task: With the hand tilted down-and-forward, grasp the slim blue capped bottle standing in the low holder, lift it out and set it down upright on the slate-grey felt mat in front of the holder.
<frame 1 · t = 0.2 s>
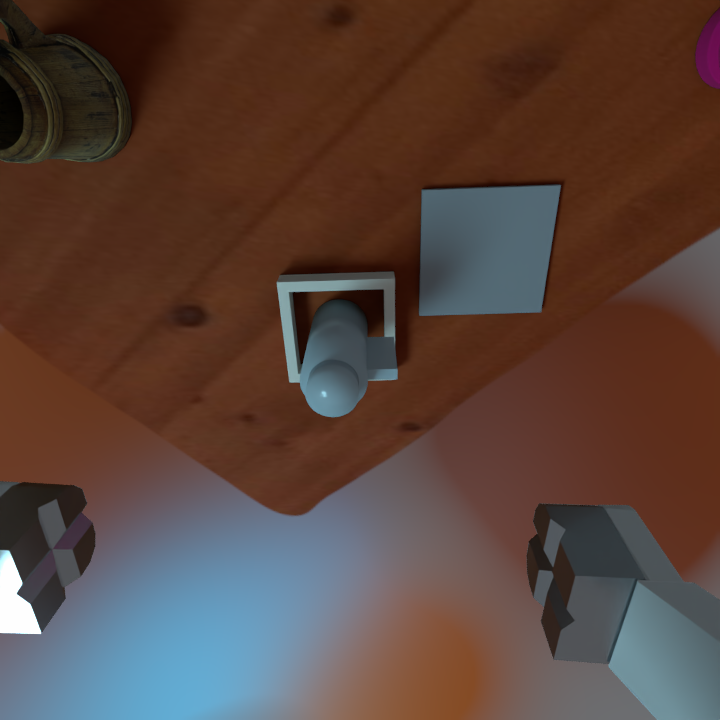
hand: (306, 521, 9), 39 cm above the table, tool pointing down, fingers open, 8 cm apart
wooden mug: (76, 71, 39), on the table
holder: (340, 324, 50), on the table
blue capped bottle: (350, 355, 44), in the holder
mat: (484, 253, 46), on the table
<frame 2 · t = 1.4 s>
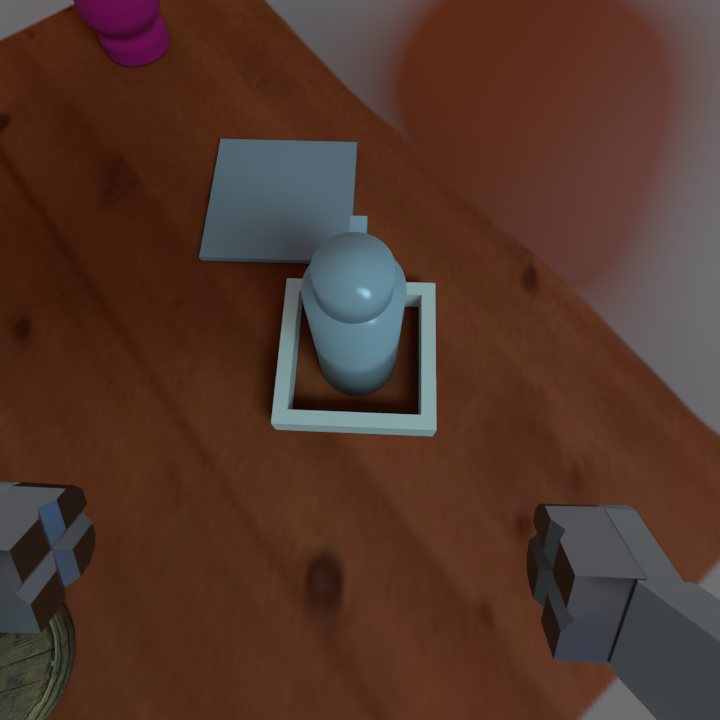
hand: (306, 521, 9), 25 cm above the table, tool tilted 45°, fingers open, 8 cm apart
holder: (357, 359, 36), on the table
blue capped bottle: (356, 304, 31), in the holder
pepper mill: (139, 46, 48), on the table
mat: (282, 200, 41), on the table
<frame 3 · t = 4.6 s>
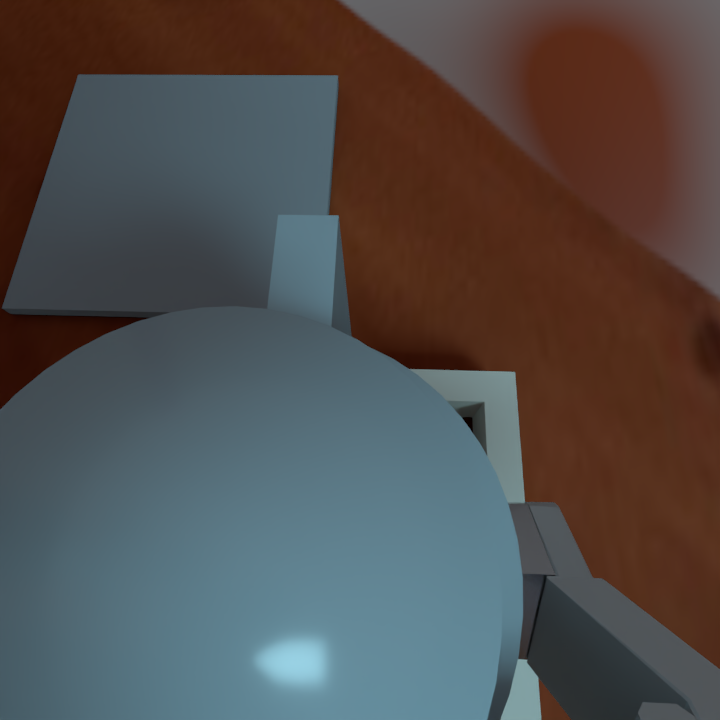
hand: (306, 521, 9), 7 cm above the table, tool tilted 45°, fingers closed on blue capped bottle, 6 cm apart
holder: (335, 551, 16), on the table
blue capped bottle: (314, 490, 10), in the holder, touching gripper
mat: (189, 189, 21), on the table
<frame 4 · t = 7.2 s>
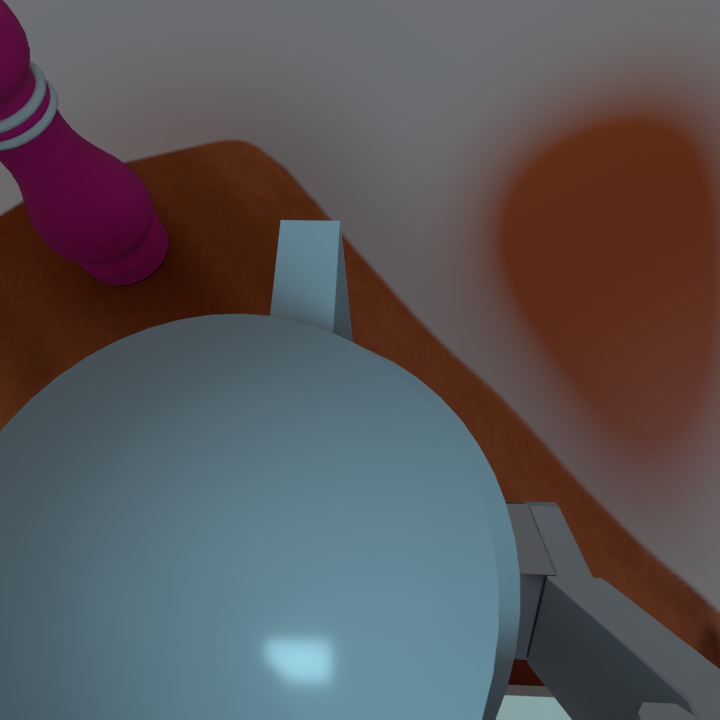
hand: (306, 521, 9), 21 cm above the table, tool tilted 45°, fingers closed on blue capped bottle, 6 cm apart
blue capped bottle: (316, 490, 10), point 20 cm above the table, touching gripper
pepper mill: (129, 250, 36), on the table
when the fingers open (9 cm above the table, at t = 10.2 s): blue capped bottle stays where it is, resting on mat.
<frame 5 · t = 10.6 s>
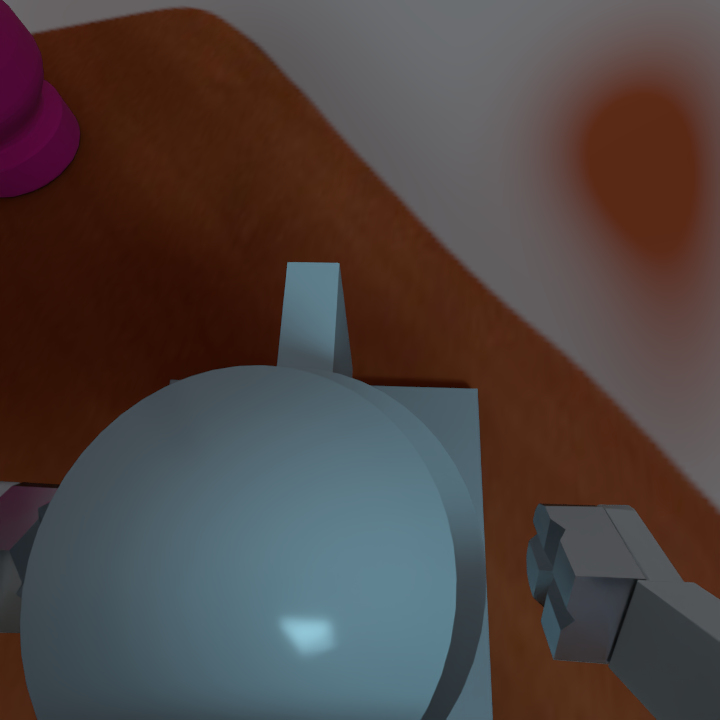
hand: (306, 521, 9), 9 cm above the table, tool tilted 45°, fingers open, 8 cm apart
blue capped bottle: (318, 496, 11), on the mat
pepper mill: (21, 151, 25), on the table
mat: (312, 549, 17), on the table
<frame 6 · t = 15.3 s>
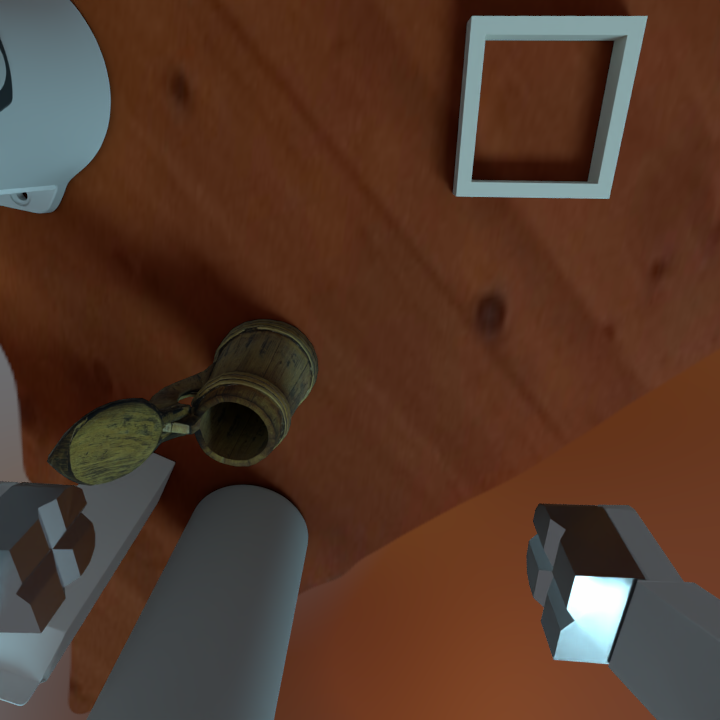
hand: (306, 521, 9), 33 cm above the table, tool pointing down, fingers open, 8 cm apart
wooden mug: (244, 357, 45), on the table
holder: (536, 114, 35), on the table
cylinder vase: (251, 526, 53), on the table
milk: (140, 469, 50), on the table
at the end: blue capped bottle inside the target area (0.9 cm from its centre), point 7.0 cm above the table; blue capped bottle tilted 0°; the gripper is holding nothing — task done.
